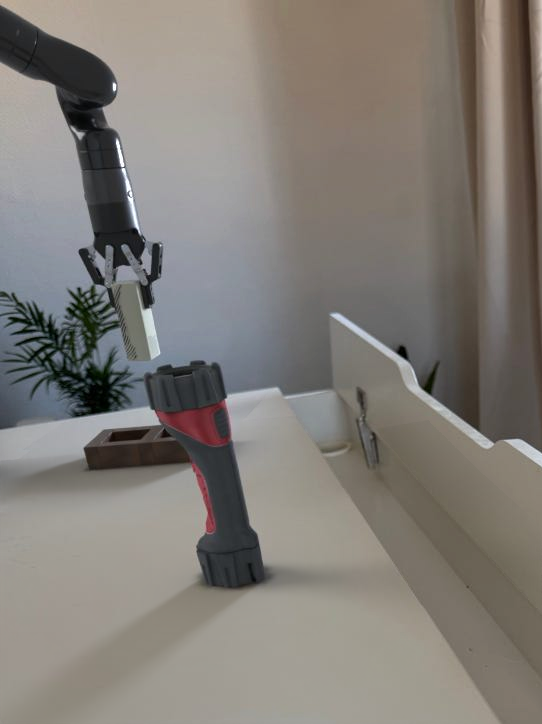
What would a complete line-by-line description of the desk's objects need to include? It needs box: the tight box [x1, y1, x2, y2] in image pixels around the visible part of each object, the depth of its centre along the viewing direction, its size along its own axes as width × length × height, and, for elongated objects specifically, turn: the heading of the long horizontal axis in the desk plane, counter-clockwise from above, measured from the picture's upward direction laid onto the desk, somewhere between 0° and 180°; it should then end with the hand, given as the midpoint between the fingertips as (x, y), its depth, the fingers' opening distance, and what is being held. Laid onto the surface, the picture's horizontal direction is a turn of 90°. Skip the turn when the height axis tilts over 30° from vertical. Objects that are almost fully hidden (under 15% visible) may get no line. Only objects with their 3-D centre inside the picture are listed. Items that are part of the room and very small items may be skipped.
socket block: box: [82, 424, 193, 471], centre depth 149 cm, size 18×10×4 cm, turn 92°
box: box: [111, 278, 161, 362], centre depth 167 cm, size 5×4×13 cm
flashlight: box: [142, 359, 267, 589], centre depth 101 cm, size 8×8×23 cm
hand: (133, 308), depth 166 cm, fingers closed on box, 4 cm apart
